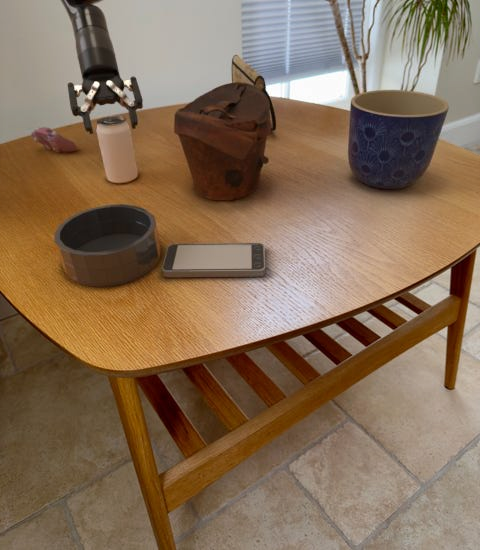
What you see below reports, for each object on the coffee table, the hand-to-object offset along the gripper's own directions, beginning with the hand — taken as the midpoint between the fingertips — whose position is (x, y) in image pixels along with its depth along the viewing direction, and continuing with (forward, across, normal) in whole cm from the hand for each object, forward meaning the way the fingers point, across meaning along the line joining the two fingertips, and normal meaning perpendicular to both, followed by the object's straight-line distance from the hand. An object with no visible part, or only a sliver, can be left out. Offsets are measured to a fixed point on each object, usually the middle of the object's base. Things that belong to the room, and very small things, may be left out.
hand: (112, 129), depth 88 cm
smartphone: (+35, +10, -22) cm, 42 cm away
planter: (+23, +50, -10) cm, 56 cm away
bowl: (+30, -5, -17) cm, 35 cm away
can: (+9, 0, +5) cm, 10 cm away
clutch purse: (-8, +38, +22) cm, 44 cm away
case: (+18, +19, -4) cm, 26 cm away
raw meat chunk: (-7, -14, +21) cm, 26 cm away
